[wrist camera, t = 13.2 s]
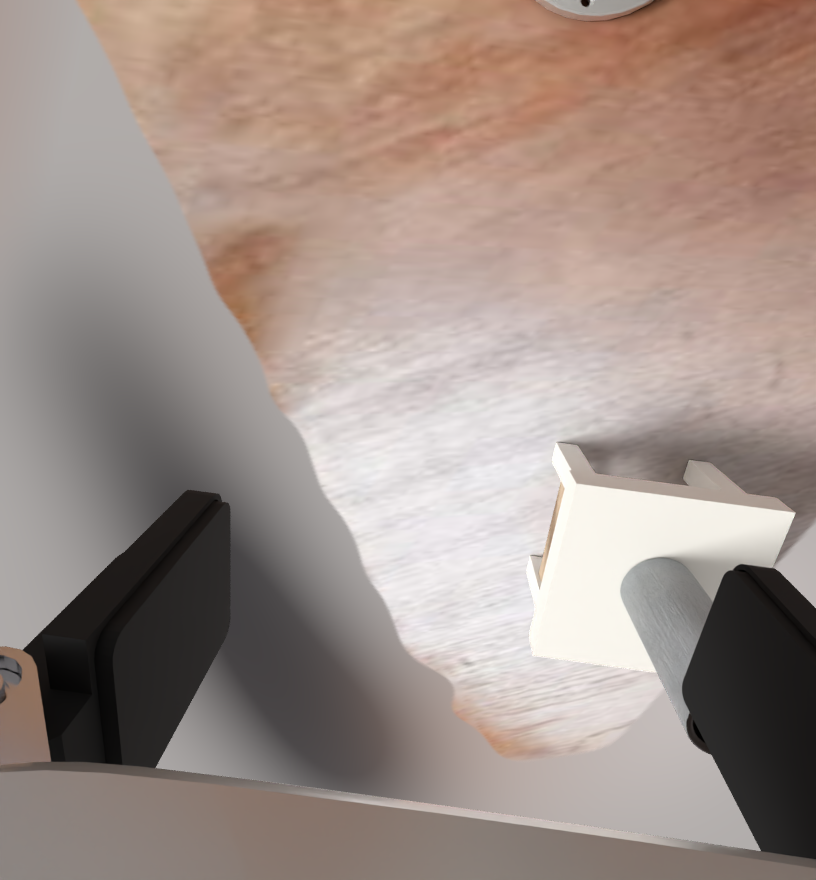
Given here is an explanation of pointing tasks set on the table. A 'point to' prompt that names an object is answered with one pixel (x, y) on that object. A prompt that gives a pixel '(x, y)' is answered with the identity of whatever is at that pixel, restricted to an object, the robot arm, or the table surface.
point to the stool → (636, 551)
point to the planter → (668, 625)
